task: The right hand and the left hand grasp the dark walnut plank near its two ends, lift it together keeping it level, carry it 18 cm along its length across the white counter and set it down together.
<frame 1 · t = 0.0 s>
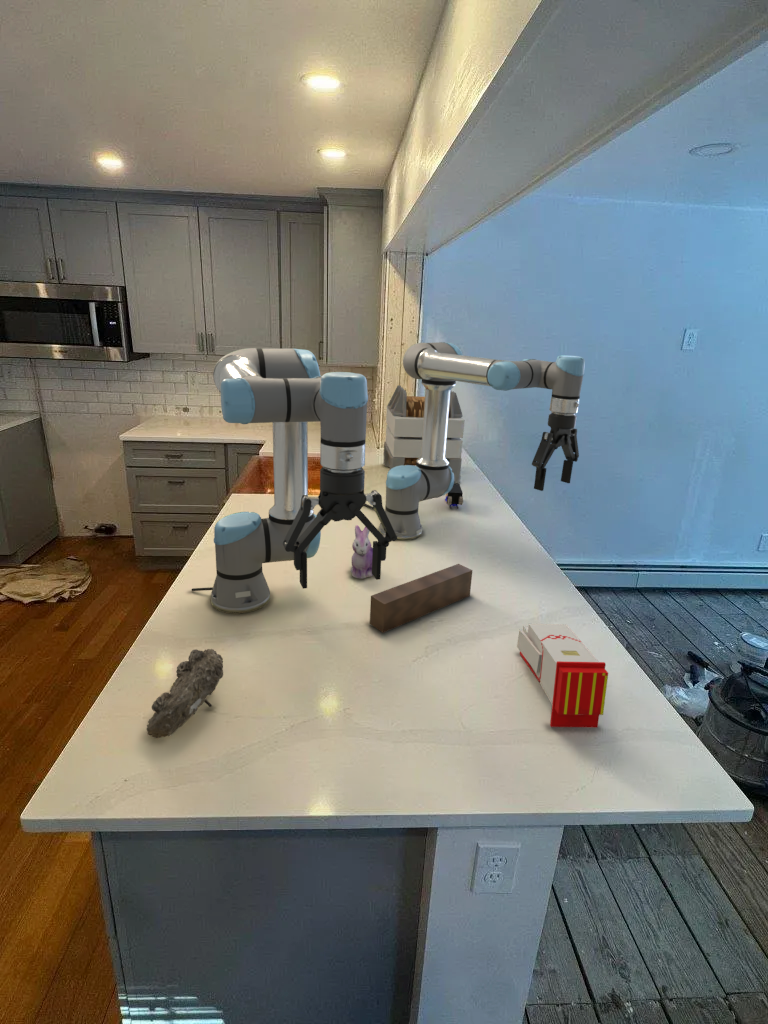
left hand: (340, 580, 103), 28 cm above the counter, fingers open, 13 cm apart
right hand: (552, 485, 166), 28 cm above the counter, fingers open, 13 cm apart
transformer: (419, 473, 275), on the counter
figurine character: (452, 505, 232), on the counter
plank: (422, 609, 150), on the counter
toy: (551, 684, 122), on the counter
figurine: (364, 573, 169), on the counter
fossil: (192, 704, 111), on the counter
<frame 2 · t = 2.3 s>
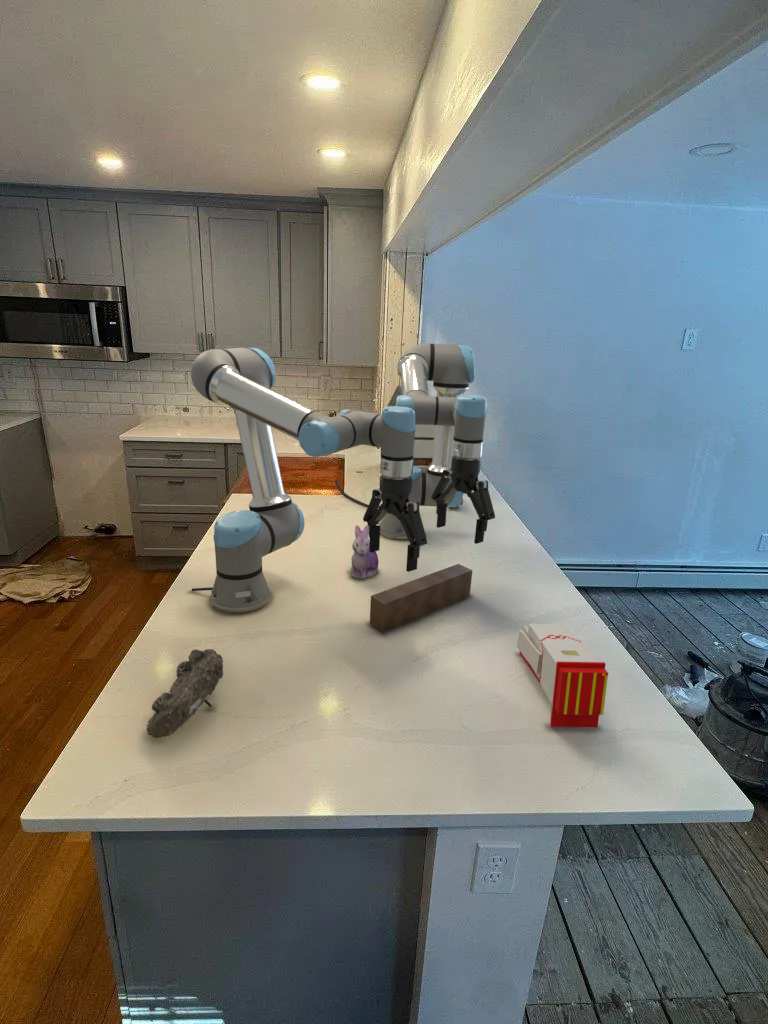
left hand: (392, 560, 137), 18 cm above the counter, fingers open, 13 cm apart
right hand: (459, 534, 152), 19 cm above the counter, fingers open, 13 cm apart
nothing on the counter moved.
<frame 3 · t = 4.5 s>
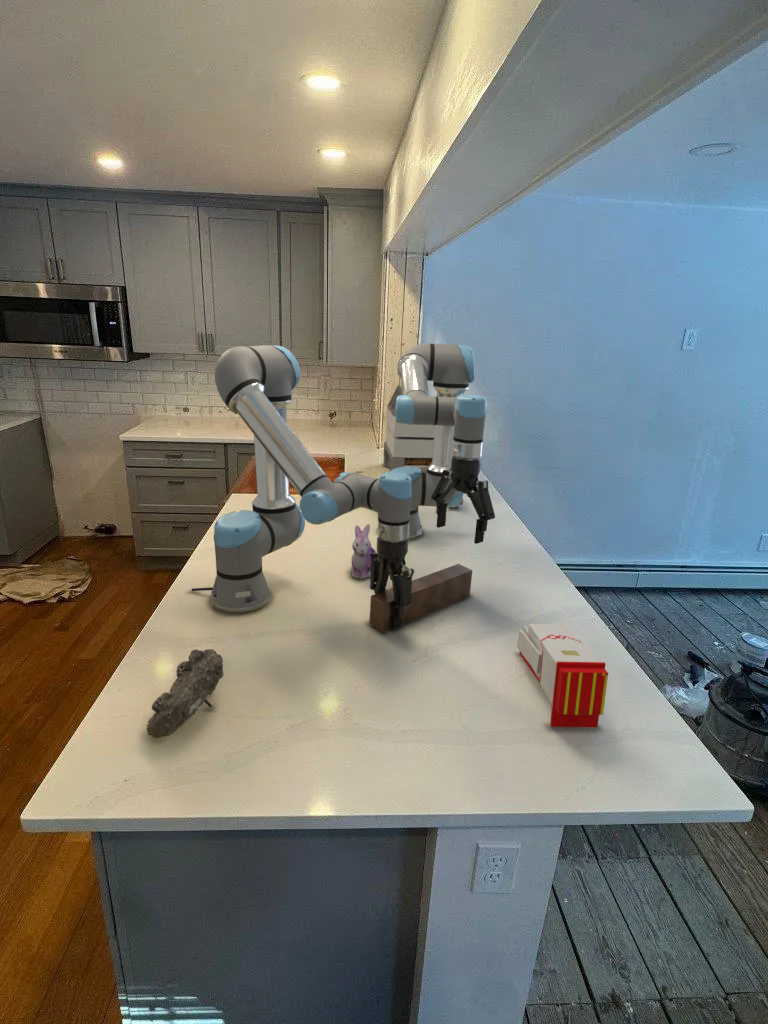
left hand: (388, 622, 143), 0 cm above the counter, fingers closed on plank, 5 cm apart
right hand: (459, 534, 152), 19 cm above the counter, fingers open, 13 cm apart
plank: (422, 609, 150), on the counter, touching left hand
everything else where it was.
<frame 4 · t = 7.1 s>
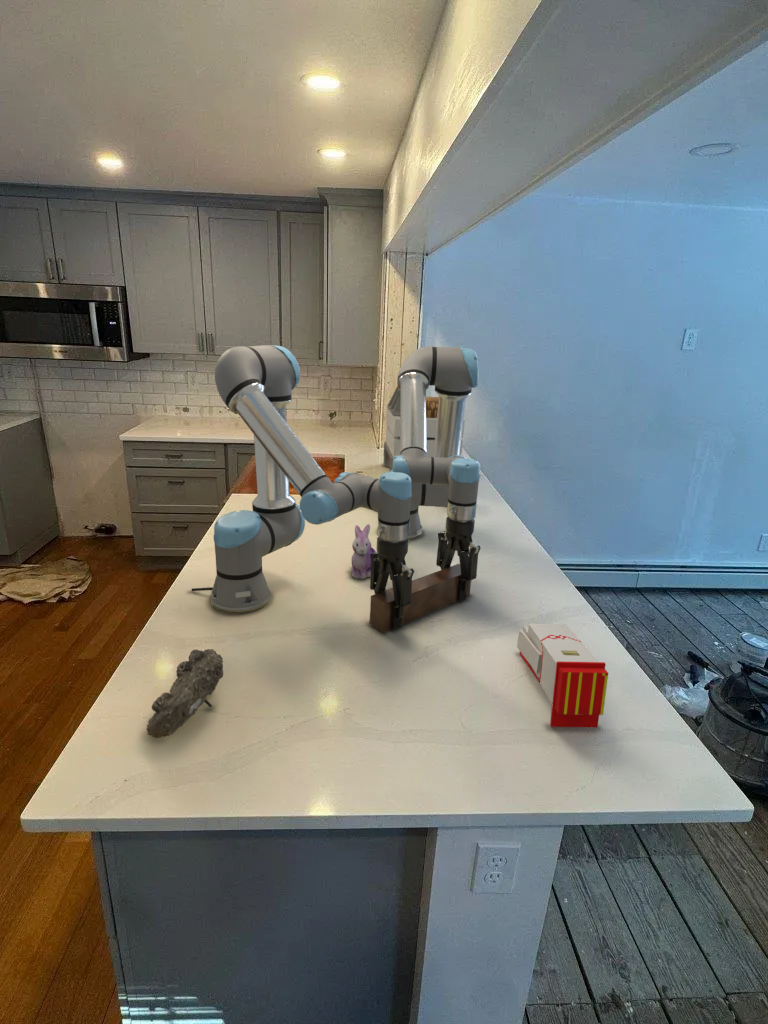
left hand: (388, 622, 143), 0 cm above the counter, fingers closed on plank, 5 cm apart
right hand: (453, 595, 158), 0 cm above the counter, fingers closed on plank, 5 cm apart
plank: (422, 609, 150), on the counter, touching right hand, left hand
everything else where it was.
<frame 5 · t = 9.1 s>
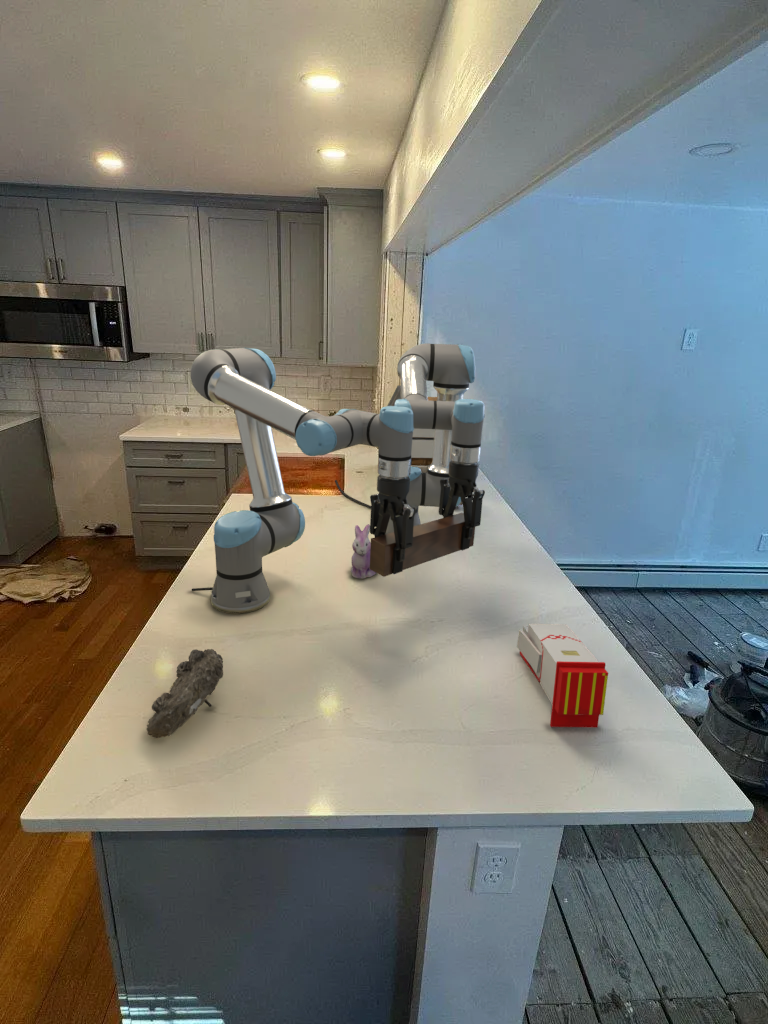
left hand: (389, 567, 137), 16 cm above the counter, fingers closed on plank, 5 cm apart
right hand: (456, 545, 152), 16 cm above the counter, fingers closed on plank, 5 cm apart
plank: (424, 556, 145), point 15 cm above the counter, touching right hand, left hand
everything else where it was.
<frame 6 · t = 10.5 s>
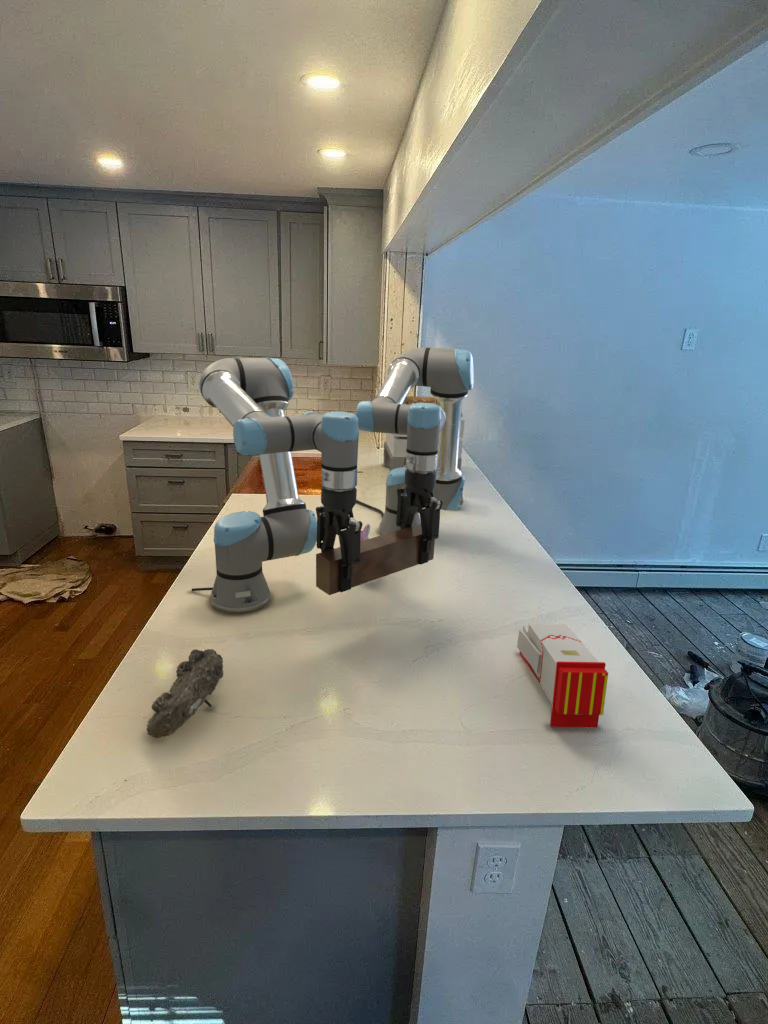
left hand: (337, 584, 128), 16 cm above the counter, fingers closed on plank, 5 cm apart
right hand: (414, 558, 142), 16 cm above the counter, fingers closed on plank, 5 cm apart
plank: (378, 572, 135), point 15 cm above the counter, touching right hand, left hand
everything else where it was.
when the left hand's fingers open (1 cm above the counter, at t = 13.9 s): plank stays where it is, on the counter.
when the right hand's fingers open (1 cm above the counter, at t = 13.9 s): plank stays where it is, on the counter.
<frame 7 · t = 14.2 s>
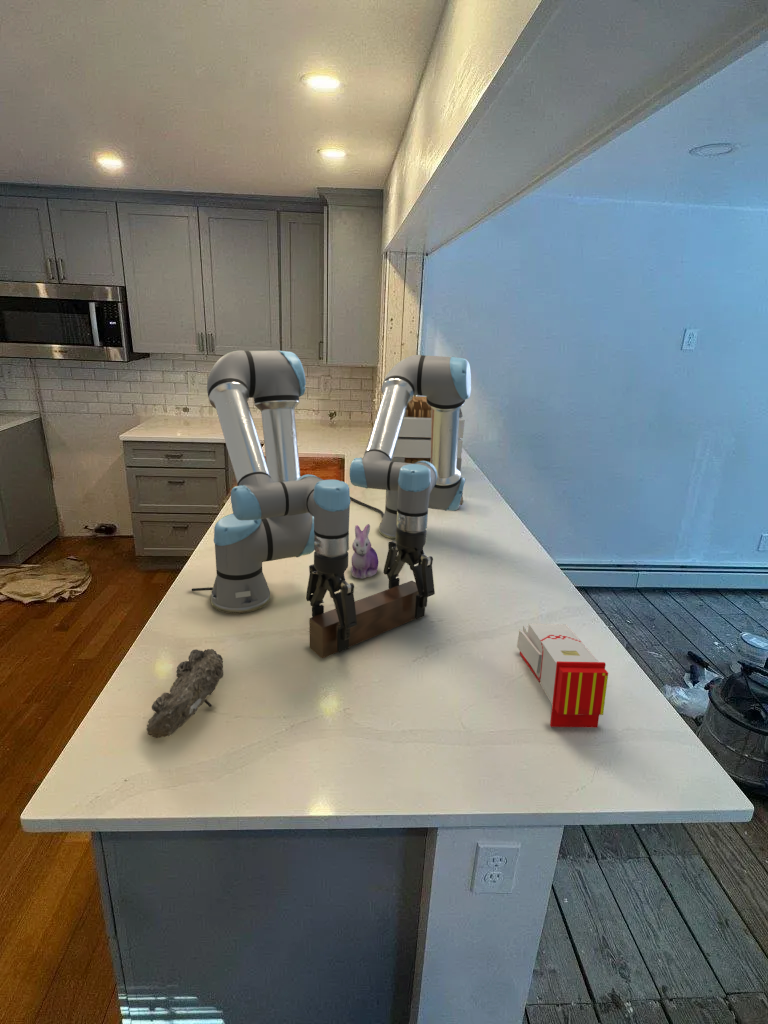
left hand: (330, 640, 131), 2 cm above the counter, fingers open, 9 cm apart
right hand: (406, 609, 146), 2 cm above the counter, fingers open, 9 cm apart
plank: (370, 630, 139), on the counter
everything else where it was.
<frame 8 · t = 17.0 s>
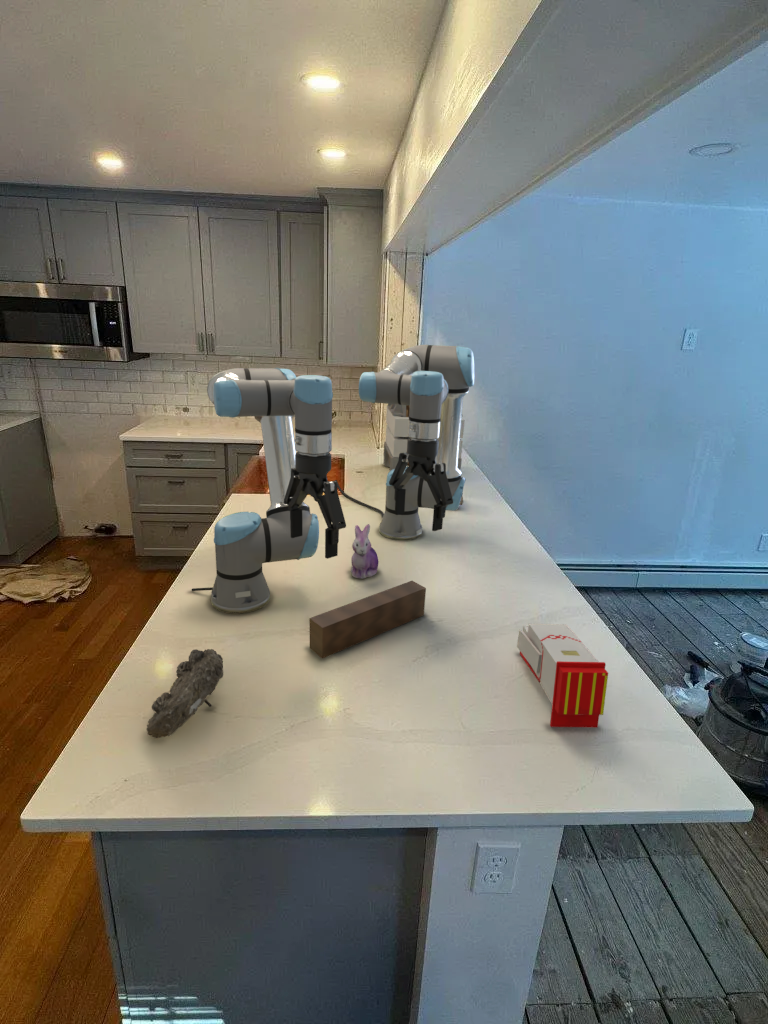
left hand: (313, 546, 125), 25 cm above the counter, fingers open, 13 cm apart
right hand: (417, 521, 142), 25 cm above the counter, fingers open, 13 cm apart
nothing on the counter moved.
at the end: plank inside the target area (0.0 cm from its centre), on the counter; both hands held the plank at the same time; plank never tilted more than 2° during the clip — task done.
